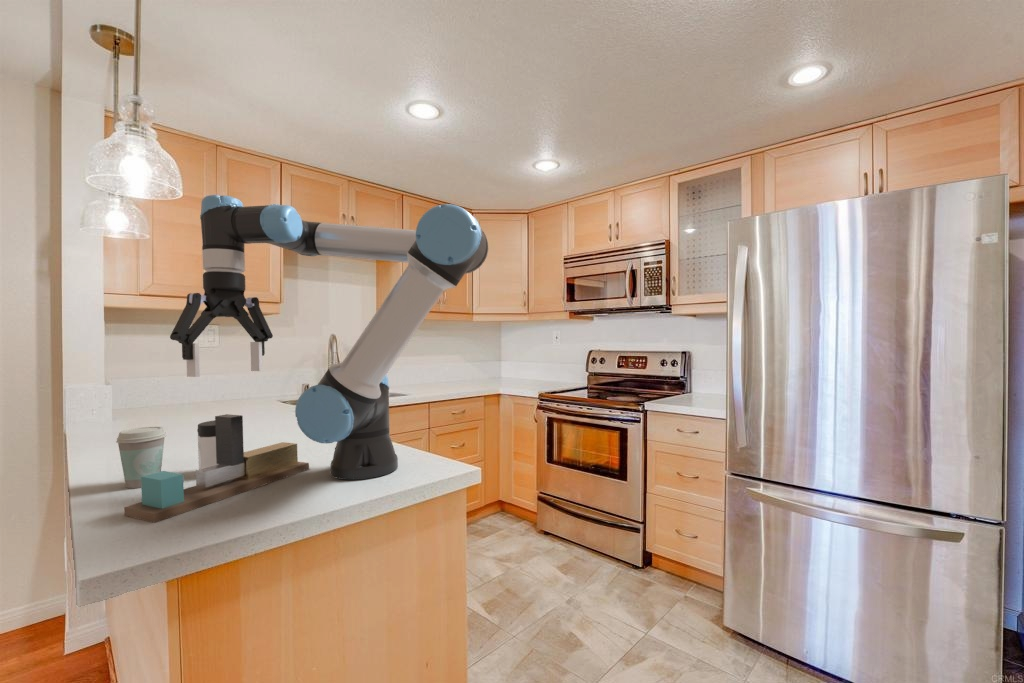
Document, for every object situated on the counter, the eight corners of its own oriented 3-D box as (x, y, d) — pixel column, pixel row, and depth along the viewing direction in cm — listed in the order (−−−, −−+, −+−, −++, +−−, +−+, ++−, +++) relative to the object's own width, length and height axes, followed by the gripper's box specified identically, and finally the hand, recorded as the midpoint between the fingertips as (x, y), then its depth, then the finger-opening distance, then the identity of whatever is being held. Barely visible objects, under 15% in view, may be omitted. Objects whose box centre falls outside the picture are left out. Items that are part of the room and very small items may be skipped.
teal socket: (164, 497, 86) (163, 470, 86) (183, 501, 84) (183, 474, 84) (142, 504, 83) (141, 476, 83) (161, 508, 81) (160, 480, 80)
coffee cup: (126, 493, 94) (124, 435, 94) (111, 486, 98) (109, 431, 98) (174, 481, 101) (173, 428, 101) (158, 475, 106) (156, 424, 105)
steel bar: (279, 459, 109) (278, 405, 109) (294, 461, 107) (293, 406, 107) (193, 484, 91) (191, 420, 90) (209, 487, 89) (207, 421, 89)
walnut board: (282, 465, 112) (282, 459, 112) (309, 469, 108) (308, 462, 108) (124, 515, 82) (124, 507, 82) (154, 522, 78) (154, 514, 78)
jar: (225, 466, 113) (223, 418, 112) (249, 468, 110) (247, 419, 110) (188, 476, 104) (187, 425, 104) (213, 480, 101) (212, 426, 101)
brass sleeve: (283, 461, 110) (282, 442, 110) (297, 463, 108) (297, 443, 108) (233, 477, 98) (232, 455, 98) (248, 479, 96) (247, 457, 96)
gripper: (265, 279, 108) (267, 368, 108) (145, 266, 85) (149, 378, 85) (287, 277, 105) (290, 369, 105) (170, 262, 82) (173, 379, 82)
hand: (227, 373), depth 95 cm, fingers open, 13 cm apart
